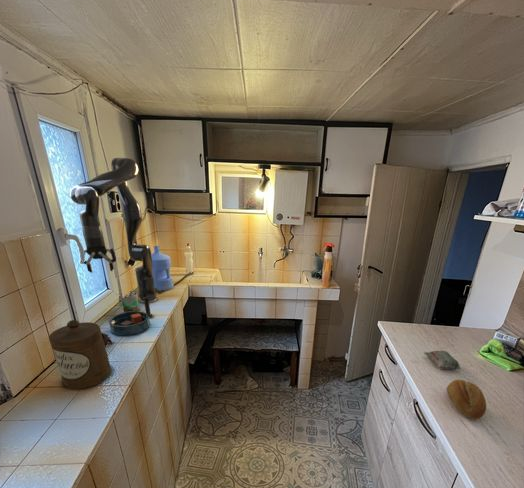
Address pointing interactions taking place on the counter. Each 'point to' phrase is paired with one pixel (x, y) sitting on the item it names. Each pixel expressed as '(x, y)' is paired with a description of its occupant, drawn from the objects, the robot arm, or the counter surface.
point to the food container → (130, 302)
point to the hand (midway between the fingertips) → (101, 271)
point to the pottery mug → (106, 339)
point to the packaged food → (443, 359)
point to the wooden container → (80, 354)
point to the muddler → (147, 307)
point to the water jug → (161, 270)
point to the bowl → (130, 329)
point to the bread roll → (467, 398)
